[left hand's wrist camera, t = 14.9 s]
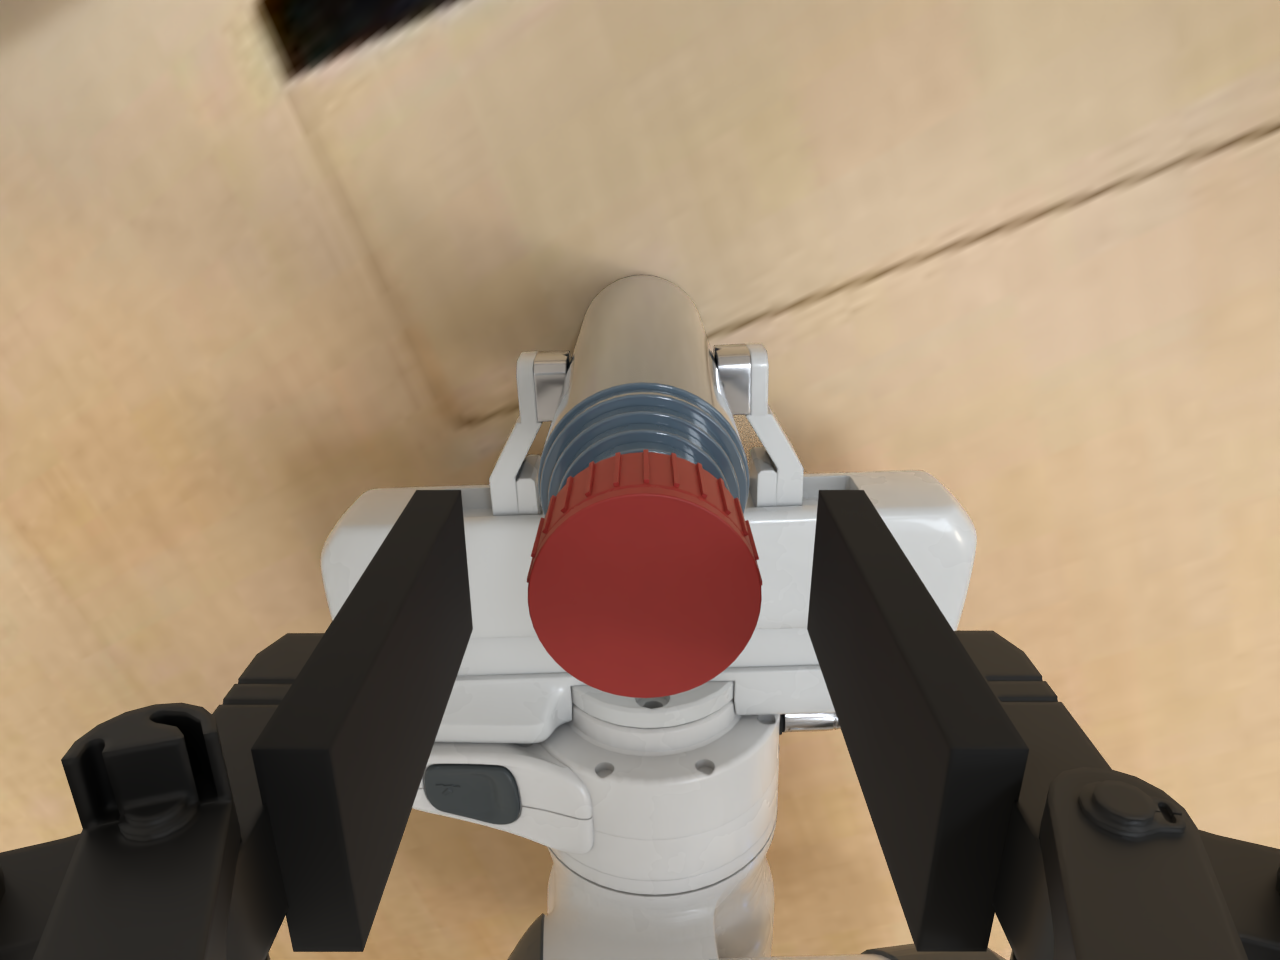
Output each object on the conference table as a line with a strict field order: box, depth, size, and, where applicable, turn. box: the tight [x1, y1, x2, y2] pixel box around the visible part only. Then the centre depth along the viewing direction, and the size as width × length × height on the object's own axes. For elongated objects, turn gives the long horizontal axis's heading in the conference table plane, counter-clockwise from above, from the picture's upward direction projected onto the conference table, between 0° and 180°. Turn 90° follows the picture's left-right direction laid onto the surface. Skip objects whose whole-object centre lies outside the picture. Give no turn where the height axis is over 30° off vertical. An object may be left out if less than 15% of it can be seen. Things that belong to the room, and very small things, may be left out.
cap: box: [527, 450, 762, 698], centre depth 14 cm, size 4×4×2 cm
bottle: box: [538, 275, 750, 517], centre depth 22 cm, size 4×4×19 cm
